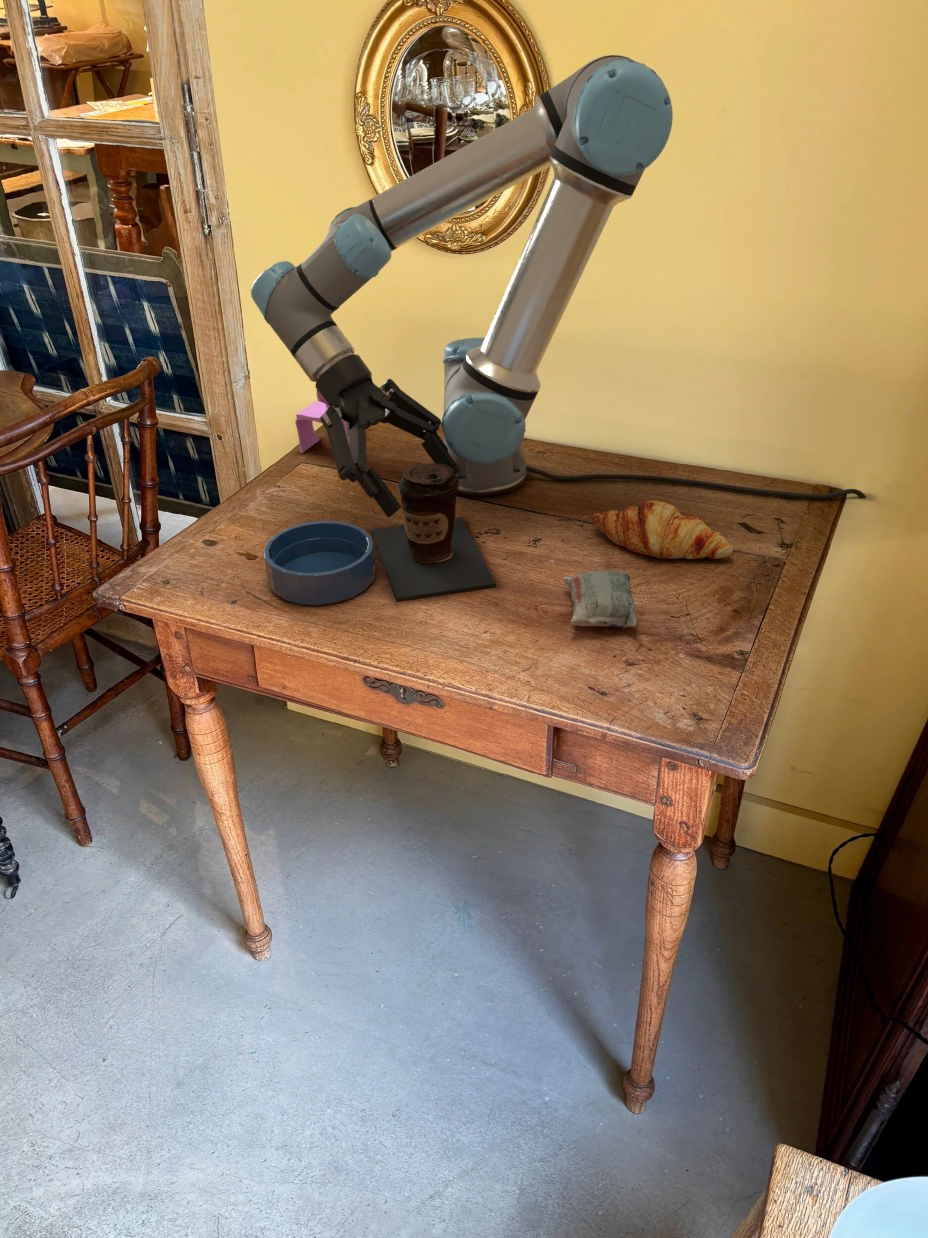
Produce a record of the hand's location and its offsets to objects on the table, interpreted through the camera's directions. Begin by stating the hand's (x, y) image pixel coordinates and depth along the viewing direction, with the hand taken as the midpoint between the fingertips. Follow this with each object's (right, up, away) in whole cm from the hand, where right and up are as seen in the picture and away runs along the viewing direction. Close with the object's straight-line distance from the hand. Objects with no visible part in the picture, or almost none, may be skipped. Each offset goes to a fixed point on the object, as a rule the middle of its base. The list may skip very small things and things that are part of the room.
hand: (425, 493), depth 131 cm
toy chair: (-19, +13, +38) cm, 44 cm away
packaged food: (+23, -17, -7) cm, 29 cm away
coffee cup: (+1, -8, +5) cm, 10 cm away
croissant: (+34, -7, +7) cm, 36 cm away
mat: (+1, -9, +5) cm, 10 cm away
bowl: (-15, -12, +2) cm, 19 cm away
